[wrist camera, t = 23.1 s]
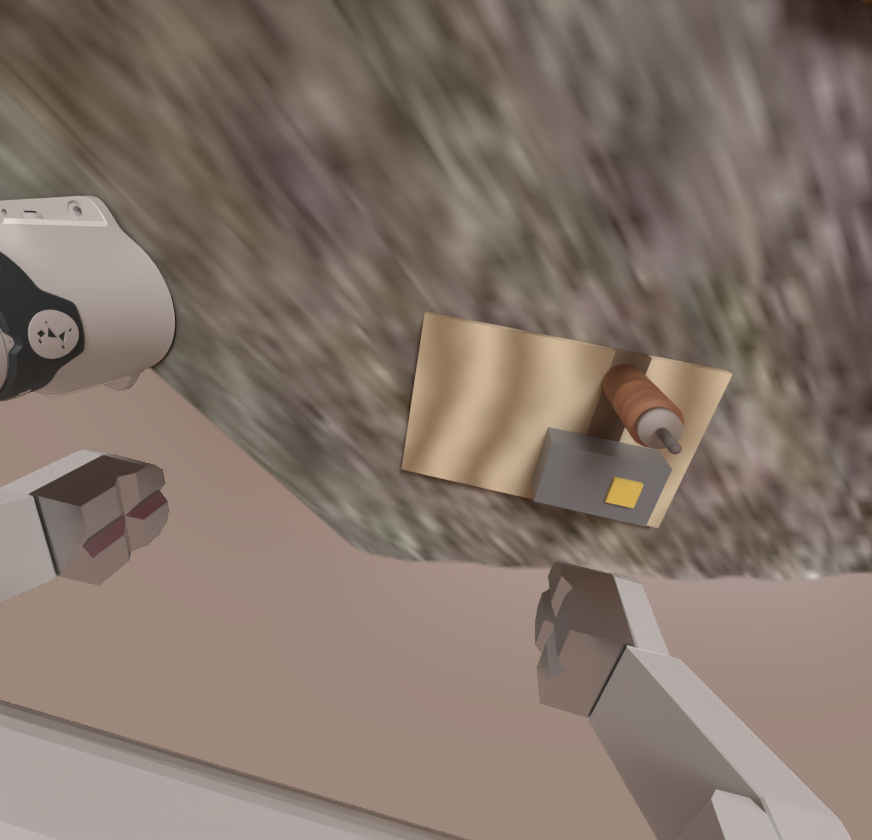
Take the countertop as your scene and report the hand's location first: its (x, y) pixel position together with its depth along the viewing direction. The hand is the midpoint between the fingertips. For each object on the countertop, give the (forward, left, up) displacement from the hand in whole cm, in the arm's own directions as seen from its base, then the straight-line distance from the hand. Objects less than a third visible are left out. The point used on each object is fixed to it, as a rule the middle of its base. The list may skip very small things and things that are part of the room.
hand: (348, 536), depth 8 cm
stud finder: (+14, -12, -30) cm, 35 cm away
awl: (+14, -3, -30) cm, 33 cm away
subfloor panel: (+9, -9, -31) cm, 34 cm away
